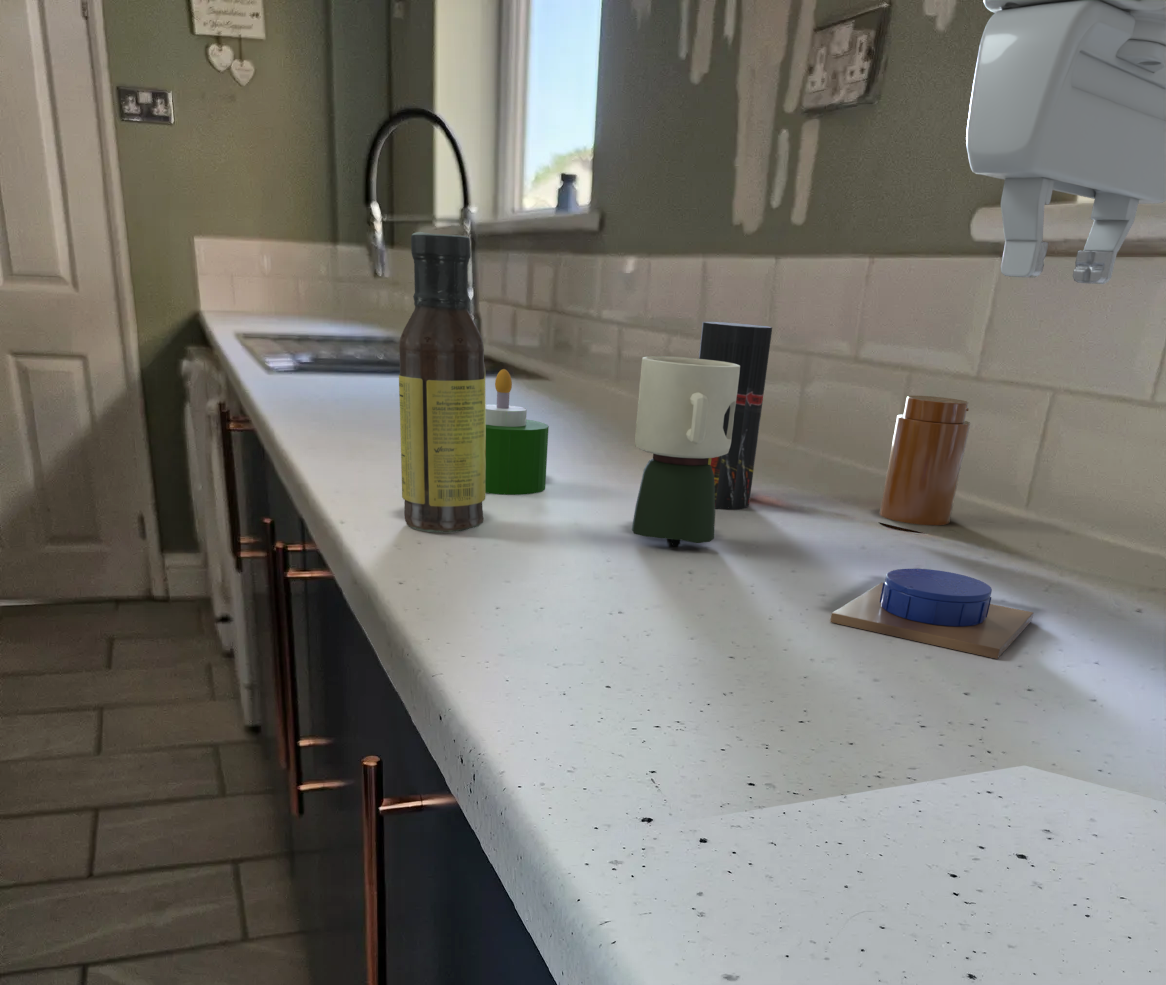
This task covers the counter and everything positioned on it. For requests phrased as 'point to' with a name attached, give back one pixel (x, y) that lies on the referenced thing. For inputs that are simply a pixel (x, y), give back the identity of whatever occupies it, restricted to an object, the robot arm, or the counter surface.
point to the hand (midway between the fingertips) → (1056, 280)
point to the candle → (513, 446)
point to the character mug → (682, 444)
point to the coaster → (936, 626)
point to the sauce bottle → (442, 392)
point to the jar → (925, 461)
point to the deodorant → (739, 404)
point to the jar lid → (935, 597)
